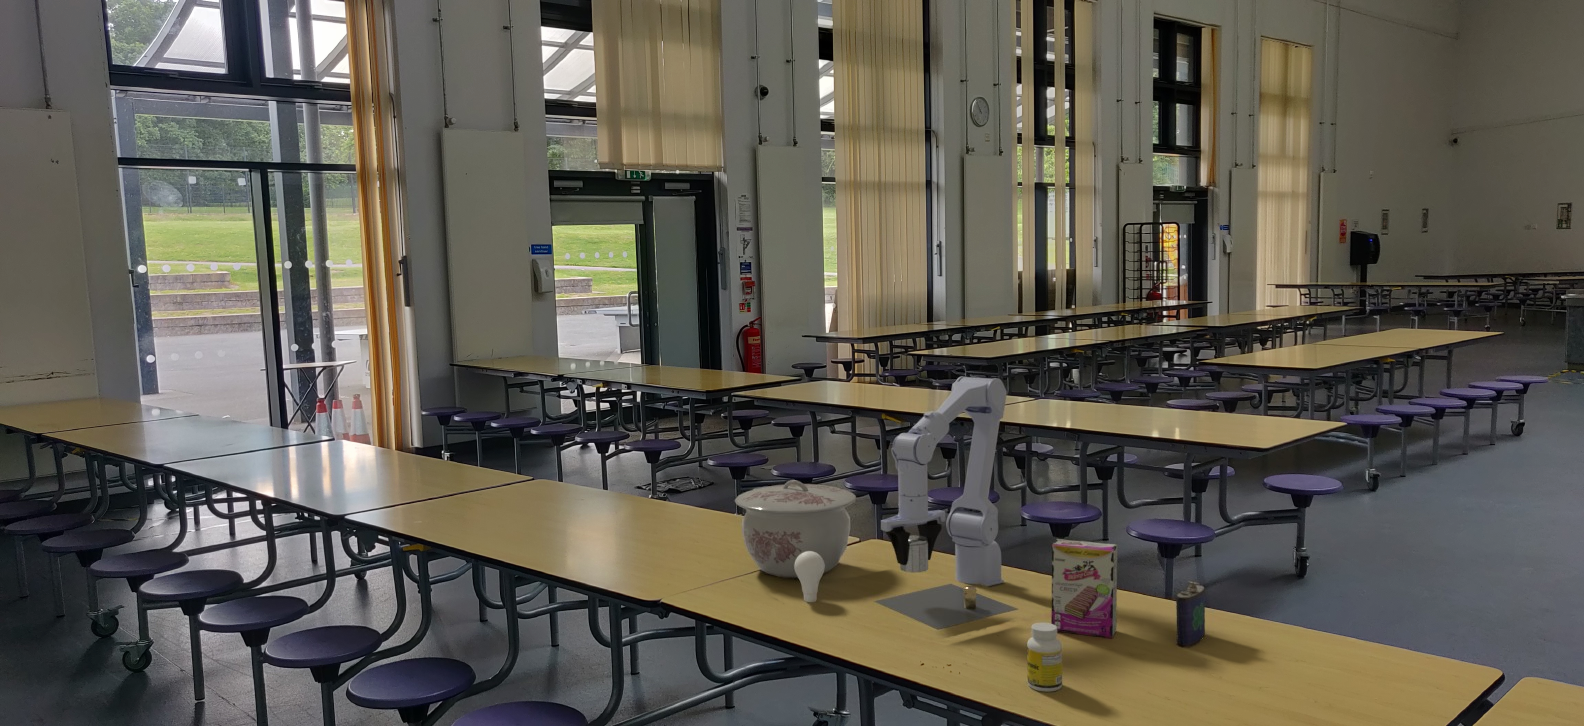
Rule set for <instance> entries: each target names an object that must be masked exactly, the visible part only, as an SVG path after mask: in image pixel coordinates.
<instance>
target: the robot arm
mask: <svg viewBox="0 0 1584 726" xmlns="http://www.w3.org/2000/svg"><path fill="white" fill-rule="evenodd" d="M950 392H951V393H950V394H949V395H948V396H947V398H946V399H945V400H944V401H943V402H942V404H941V405H940V407H938V409H937V410H936V411H935V410H934V411H931V410H930V411H926V412H925V413H923V416H922V417H921V418H920V419H919V420H918V421H917V423H916V424H914V426H912V427H911V428H910V429H909V430H908V432H902V433H900V434H898V435H897V436H896V437H895V438H894V440H893V442H892V448H890V451H891V455H892V457H893V459H894V462H895V463H894V464H895V467H894V468H896V469H895V470H897V475H898V477H897V478H898V480H897V481H898V484H897V486H898V513H897V514H896V515H894V516H891V517H887V518H885V519H880V530H881V531H884V532H885V533H886V536H888V539H889V541H890V542H891V545H892V548H893V550H894V553H895V557H896V562H897V564H899V565H900V564H901V565H906V564H907V547H908V541H909V537H910V536H911V533H910V531H909V532H908V531H906V529H905V528H908V527H914V526H917V530H918V534H919V535H918V536H923V537H926V538H927V542H928V561H931V558H932V553H933V550H934V548H935V547H934V546H935V544H936V541H937V538H938V537H939V534H940V533H941V531H942V524H941V523H942V522H946V531H947V533H948V535H949V536H950V537H951V538H952V539H951V540H952V542H954V543H955V544H954V545H955V548H954V552H955V553H954V555H955V580H956V581H957V582H959V583H961V584H962V583H963V584H968V585H983V586H986V587H992V586H996V585H1000V584H1003V583H1005V580H1004V579H1002V551H1001V548H1000V545H999V544H998V542H996V540H995V539H996V538H997V536H998V533H999V521H998V516H999V515H998V514H999V509H998V508H997V507H996V506H995V505H994V503H992V502H991V500H990V499H989V495H990V487H991V481H992V474H993V467H994V463H995V462H994V461H995V455H996V449H997V441H998V435H999V428H1000V422H1001V419H1003V418H1004V414H1005V408H1006V407H1005V406H1006V400H1007V392H1008V391H1007V389H1006V387H1005V385H1004V382H1003V381H1002V380H1001V379H1000V378H996V377H994V378H987V377H986V378H985V377H972V376H971V377H969V376H963V375H962V376H959V377H958V378H957V379H956V380H955V382H953V383H952V385H951V391H950ZM963 412H964V413H965V414H966V416H968V417H970V418H971V420H972V421H973V431H972V437H971V443H970V450H969V456H968V463H967V470H966V476H965V481H964V482H965V483H964V487H963V488H964V489H963V494H962V495H961V496H959V497H958V498H957V499H955V500H954V501H953V502H952V503H951V507H950V512H949V514H948V515H947V518H946V511H945V510H940V509H937V510H935V509H934V510H929V503H928V502H929V499H928V497H929V495H928V494H929V493H928V492H929V491H928V487H929V486H928V485H929V484H928V463H929V462H931V461H932V458H933V456H934V453H935V452H934V451H935V449H936V448H937V444H938V443H939V442H940V441H941V440H942V439H944V438H945V436H946V435H948V433H949V431H950V423H951V422H953V420H955V419H956V418H957V417H958V416H959V415H961V414H962V413H963ZM970 510H971V511H970ZM972 510H974V511H972ZM975 510H976V511H980V512H976V511H975ZM939 522H941V523H939Z"/></svg>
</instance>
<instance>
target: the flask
mask: <svg viewBox="0 0 1584 726" xmlns="http://www.w3.org/2000/svg"><path fill="white" fill-rule="evenodd" d="M1186 583H1188V584H1189V585H1188V587H1187V588H1186V589H1187V590H1185V591H1180V593H1179V592H1178V593H1177V595H1176V597H1175V598H1176V599H1175V600H1176V601H1175V603H1176V605H1175V606H1176V607H1175V608H1176V646H1177V647H1180V648H1185V649H1186V648H1191V647H1194V646H1196V645H1197V644H1199V643H1200V642H1201V641H1202V640H1203V639H1204V638H1205V636H1206V629H1205V627H1206V625H1205V624H1206V620H1205V619H1206V618H1205V617H1206V615H1205V613H1206V601H1205V600H1206V587H1204V586H1203V585H1200V582H1194V581H1191V580H1188V581H1187V582H1186ZM1202 638H1203V639H1202Z"/></svg>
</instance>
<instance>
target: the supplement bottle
mask: <svg viewBox="0 0 1584 726" xmlns="http://www.w3.org/2000/svg"><path fill="white" fill-rule="evenodd" d="M1057 637H1058V631H1057V627H1056V626H1055V625H1053V624H1051V622H1050V623H1049V622H1035V623H1033V624H1032V625H1031V637H1030V638H1029V639H1028V640H1027V644H1026V645H1027V646H1026V650H1027V651H1026V652H1027V653H1026V657H1027V658H1026V659H1027V660H1026V661H1027V662H1026V663H1027V684H1028V686H1029V687H1030V688H1031V689H1033V690H1035V691H1037V692H1043V693H1044V692H1046V693H1050V692H1055V691H1058V690H1061V688H1062V686H1063V645H1062V642H1061V640H1060V639H1058V638H1057Z"/></svg>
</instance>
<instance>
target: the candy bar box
mask: <svg viewBox="0 0 1584 726" xmlns="http://www.w3.org/2000/svg"><path fill="white" fill-rule="evenodd" d="M1117 581H1118V544H1115V543H1104V542H1103V543H1102V542H1092V541H1085V540H1084V541H1083V540H1073V539H1072V540H1071V539H1062V538H1056V540H1055V541H1054V542H1052V547H1051V607H1050V608H1051V614H1050V615H1051V621H1050V624H1053V625H1055V626H1056V627H1057V632H1062V633H1068V634H1069V633H1070V634H1076V635H1077V634H1078V635H1085V636H1093V637H1101V638H1108V639H1109V638H1110V639H1113V638H1114V635H1115V633H1116V631H1117V619H1118V618H1117V607H1118V606H1117V604H1118V603H1117V601H1118V600H1117V599H1118V598H1117V597H1118V595H1117V593H1118V592H1117V591H1118V589H1117V588H1118V582H1117Z"/></svg>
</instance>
